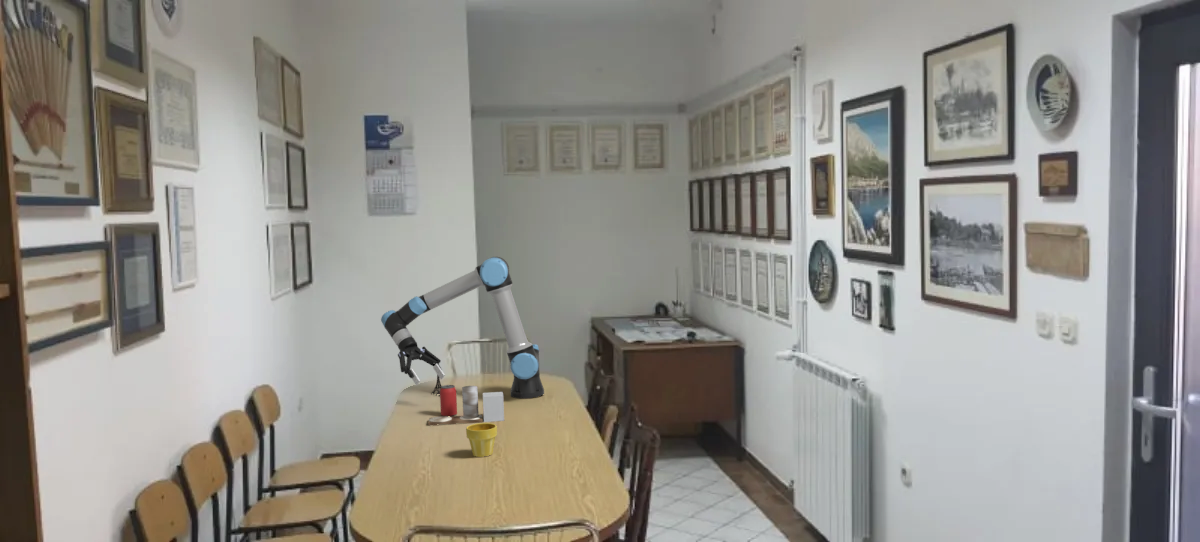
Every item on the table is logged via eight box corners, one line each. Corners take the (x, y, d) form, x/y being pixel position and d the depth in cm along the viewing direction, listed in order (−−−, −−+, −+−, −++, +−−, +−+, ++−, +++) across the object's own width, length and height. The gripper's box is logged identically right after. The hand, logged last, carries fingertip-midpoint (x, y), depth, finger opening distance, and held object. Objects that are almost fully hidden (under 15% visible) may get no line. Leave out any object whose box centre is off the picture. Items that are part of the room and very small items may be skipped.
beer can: (459, 413, 357) (457, 384, 356) (454, 417, 351) (453, 387, 350) (443, 413, 358) (442, 384, 357) (438, 417, 351) (437, 388, 351)
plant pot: (469, 460, 288) (468, 431, 287) (465, 452, 298) (464, 424, 297) (500, 457, 290) (498, 428, 290) (495, 449, 300) (494, 421, 300)
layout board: (482, 417, 349) (481, 384, 348) (482, 422, 340) (481, 388, 339) (429, 420, 346) (428, 387, 345) (428, 425, 337) (426, 392, 336)
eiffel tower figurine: (421, 398, 392) (419, 369, 391) (422, 393, 402) (421, 365, 401) (454, 396, 393) (453, 367, 393) (455, 392, 404) (454, 363, 403)
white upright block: (503, 416, 350) (502, 391, 349) (504, 420, 342) (503, 395, 341) (483, 417, 348) (482, 392, 348) (483, 422, 341) (482, 397, 340)
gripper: (423, 343, 379) (448, 380, 371) (377, 351, 359) (403, 391, 351) (431, 332, 375) (456, 369, 367) (385, 340, 355) (411, 379, 347)
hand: (430, 380), depth 359 cm, fingers open, 13 cm apart
